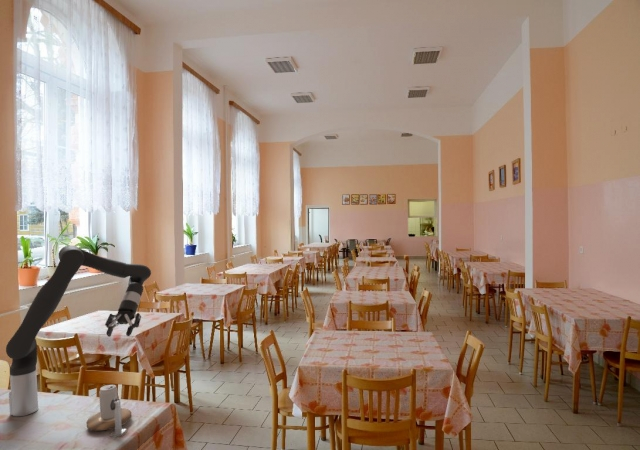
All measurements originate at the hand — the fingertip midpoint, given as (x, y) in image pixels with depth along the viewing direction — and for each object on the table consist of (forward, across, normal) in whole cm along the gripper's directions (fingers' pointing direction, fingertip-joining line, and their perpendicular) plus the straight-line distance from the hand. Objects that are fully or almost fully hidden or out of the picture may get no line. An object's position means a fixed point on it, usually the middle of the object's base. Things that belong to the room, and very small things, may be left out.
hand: (118, 335), depth 187 cm
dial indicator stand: (+39, +12, +4) cm, 41 cm away
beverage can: (+32, +4, +8) cm, 33 cm away
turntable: (+32, +4, +9) cm, 34 cm away
